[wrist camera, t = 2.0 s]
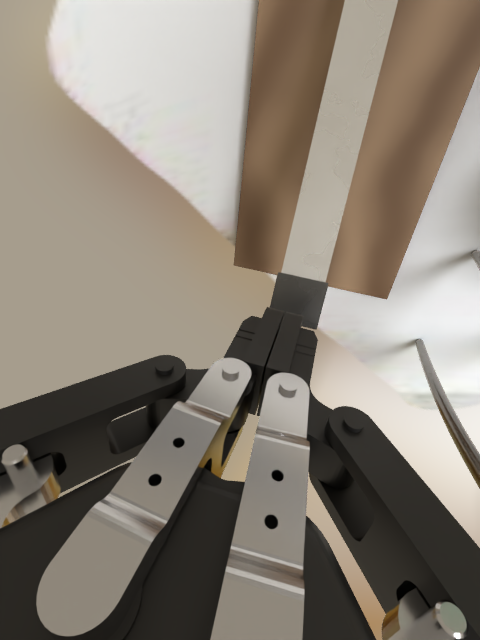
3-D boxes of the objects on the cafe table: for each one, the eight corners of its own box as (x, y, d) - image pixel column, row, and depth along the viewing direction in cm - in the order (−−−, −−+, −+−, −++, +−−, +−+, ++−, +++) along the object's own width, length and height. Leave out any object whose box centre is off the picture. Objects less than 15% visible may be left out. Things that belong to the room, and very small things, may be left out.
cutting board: (554, -138, 19) (567, -154, 18) (386, 292, 35) (386, 299, 34) (277, -136, 22) (272, -149, 21) (237, 260, 38) (233, 265, 37)
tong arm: (427, -66, 20) (434, -89, 19) (323, 328, 24) (323, 331, 23) (350, -68, 21) (353, -90, 19) (263, 313, 25) (260, 316, 24)
